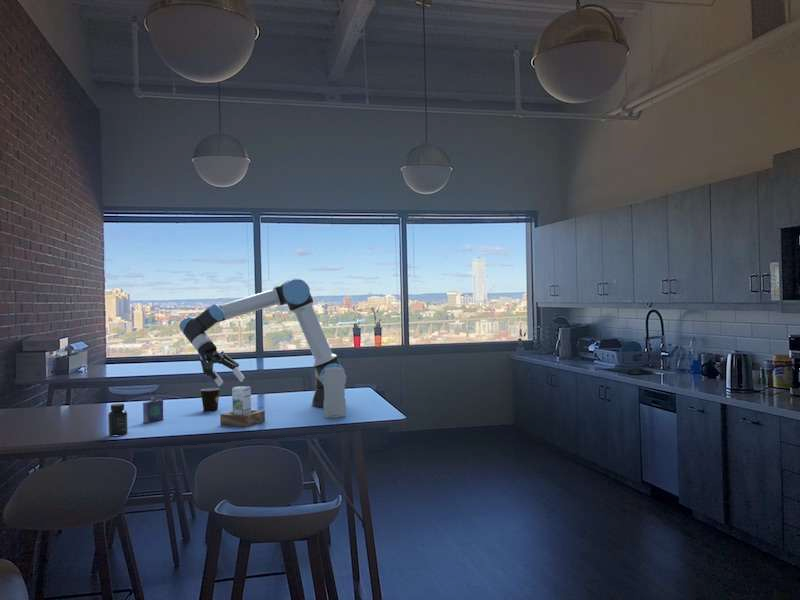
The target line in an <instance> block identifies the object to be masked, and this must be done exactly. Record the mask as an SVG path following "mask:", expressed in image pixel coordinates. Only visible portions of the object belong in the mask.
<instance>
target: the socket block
mask: <svg viewBox="0 0 800 600" xmlns="http://www.w3.org/2000/svg"><path fill="white" fill-rule="evenodd" d="M265 412H266V411H265V410H258V409H251V413H250V414H246V415H236V414H233V410H232V411H228V412H224V413H221V414H220V415H219V416H220V417H219V418H220V420H219V421H220V422H219V423H220V426H229V427H238V428H239V427H240V428H247V427H250V426H253V425H257V424H260V422H261V423H264V422H265V421H266V418H265V417H266V416H265ZM263 421H264V422H263Z"/></svg>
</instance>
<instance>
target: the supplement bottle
mask: <svg viewBox="0 0 800 600" xmlns="http://www.w3.org/2000/svg"><path fill="white" fill-rule="evenodd" d="M110 410H111V411H110V412H109V413H108V414H107V418H108V424H107V425H108V435H123V436H126V435H127V434H128V430H129V429H128V412H127V410H125V404H124V403H112V404H111V405H110ZM125 434H126V435H125Z"/></svg>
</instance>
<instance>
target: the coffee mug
mask: <svg viewBox="0 0 800 600" xmlns="http://www.w3.org/2000/svg"><path fill="white" fill-rule="evenodd" d="M200 394H201V401H202V408H203V412H205V411H212V412H216V410H217V411H218V410H219V399H220V388H218V387H211V388H202V389H200Z"/></svg>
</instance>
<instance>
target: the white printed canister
mask: <svg viewBox="0 0 800 600" xmlns="http://www.w3.org/2000/svg"><path fill="white" fill-rule="evenodd" d="M251 390H252V389H251V386H244V385H243V386H242V385H239V386H234V387H232V388H231V393H232V394H231V395H232V396H231V397H232V411H233V414H236V415H246V414H250V413H251V410H252V398H251V397H252V396H251V395H252V393H251V392H252V391H251Z"/></svg>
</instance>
